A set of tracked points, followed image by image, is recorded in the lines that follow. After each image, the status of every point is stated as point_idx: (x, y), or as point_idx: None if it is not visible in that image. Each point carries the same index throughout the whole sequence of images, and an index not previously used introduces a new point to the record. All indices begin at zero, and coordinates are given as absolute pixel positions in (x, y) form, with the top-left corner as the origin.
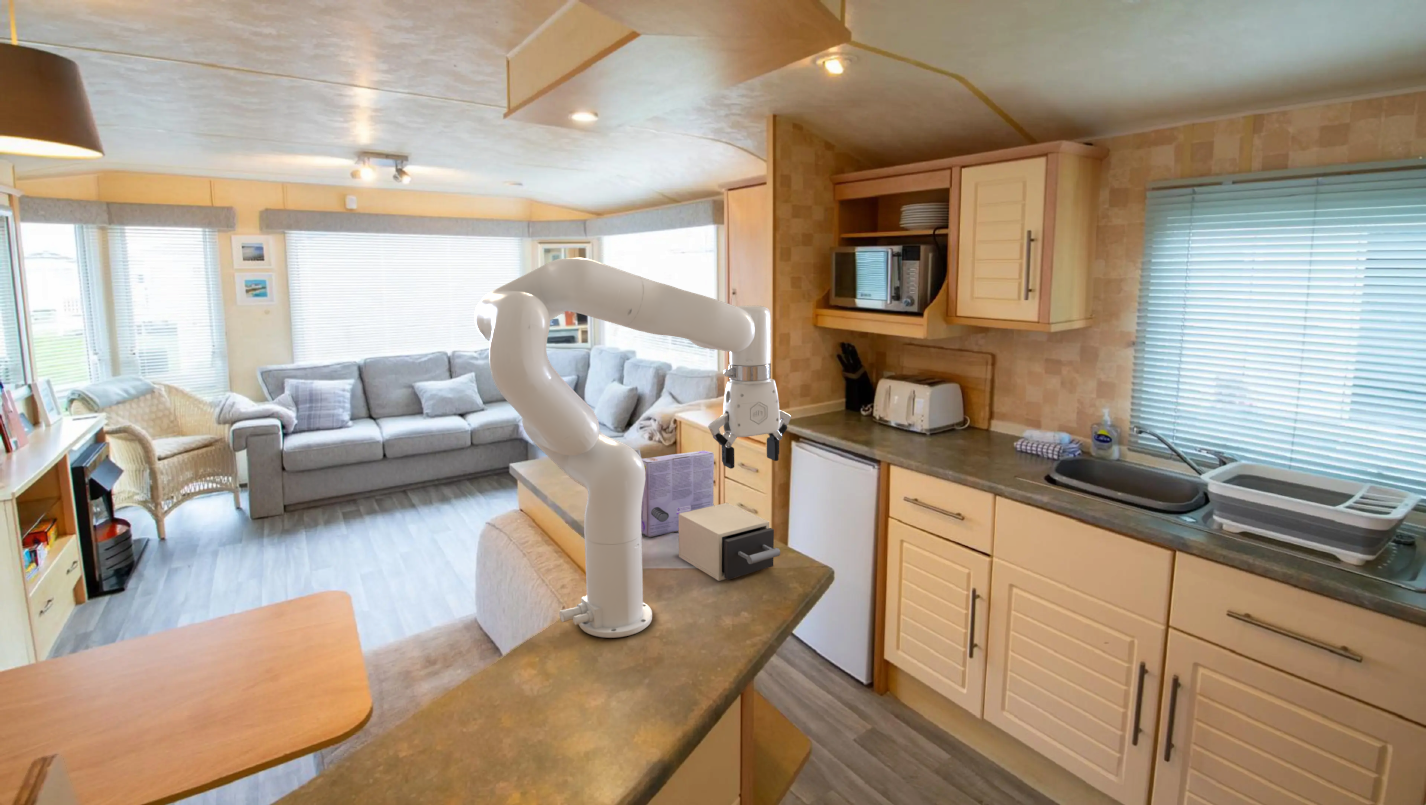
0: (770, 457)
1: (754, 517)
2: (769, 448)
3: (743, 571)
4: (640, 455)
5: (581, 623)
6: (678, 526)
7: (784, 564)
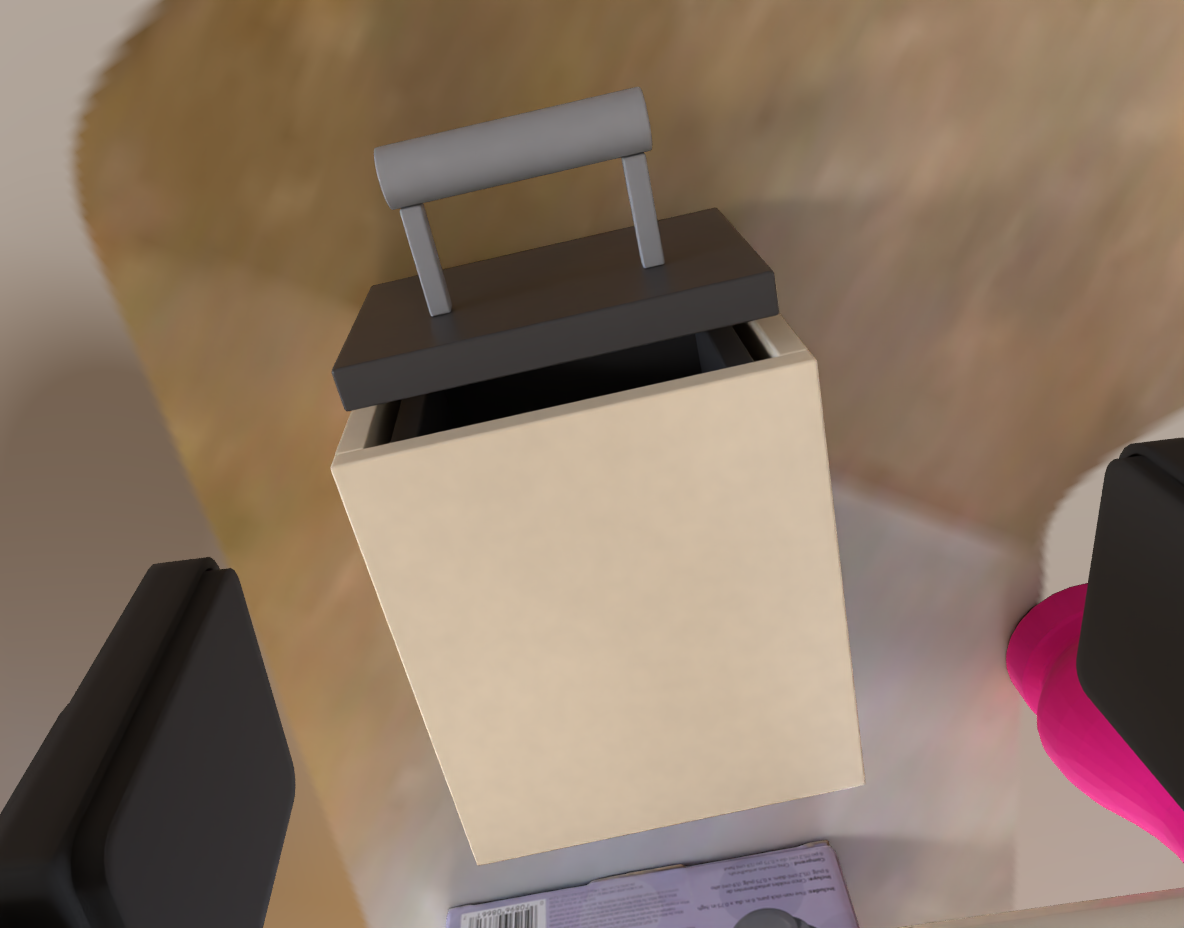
0: (264, 705)
1: (409, 574)
2: (236, 856)
3: (603, 237)
4: None
5: None
6: (662, 887)
7: (274, 329)
